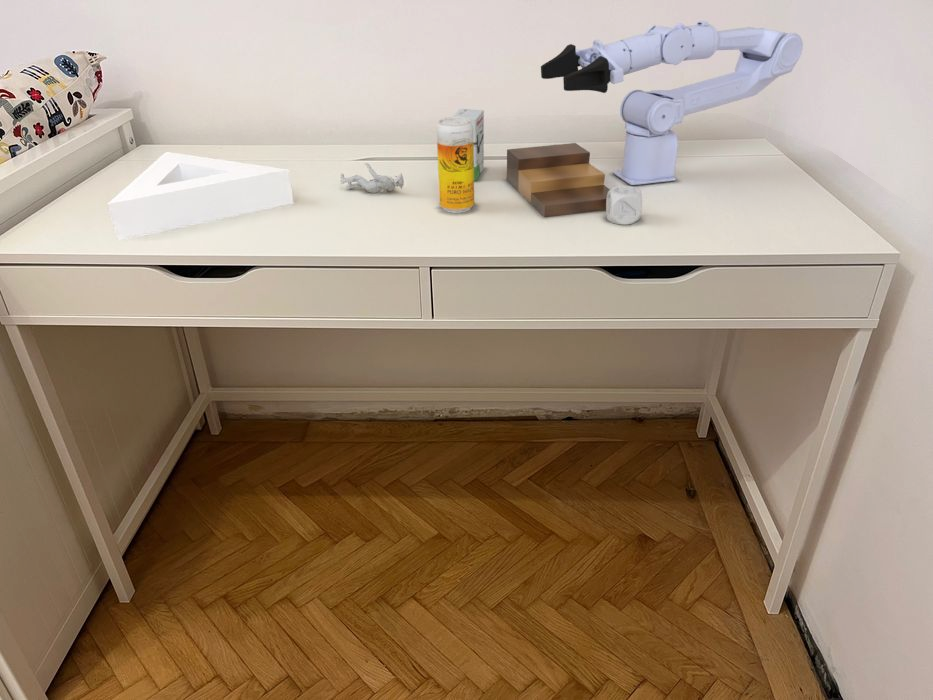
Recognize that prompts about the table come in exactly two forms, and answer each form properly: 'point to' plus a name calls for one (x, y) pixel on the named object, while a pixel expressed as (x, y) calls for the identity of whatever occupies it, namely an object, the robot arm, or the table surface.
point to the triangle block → (195, 194)
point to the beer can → (455, 164)
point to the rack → (557, 179)
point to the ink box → (476, 136)
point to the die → (624, 205)
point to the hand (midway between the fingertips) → (552, 78)
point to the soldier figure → (373, 182)
